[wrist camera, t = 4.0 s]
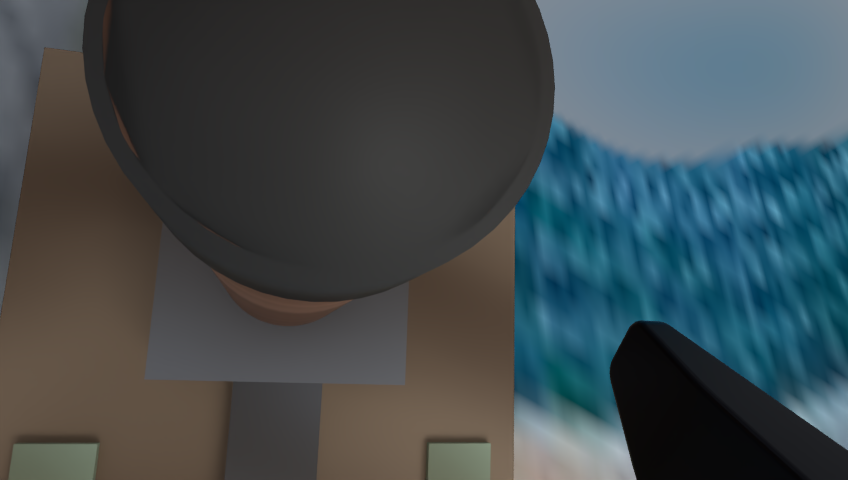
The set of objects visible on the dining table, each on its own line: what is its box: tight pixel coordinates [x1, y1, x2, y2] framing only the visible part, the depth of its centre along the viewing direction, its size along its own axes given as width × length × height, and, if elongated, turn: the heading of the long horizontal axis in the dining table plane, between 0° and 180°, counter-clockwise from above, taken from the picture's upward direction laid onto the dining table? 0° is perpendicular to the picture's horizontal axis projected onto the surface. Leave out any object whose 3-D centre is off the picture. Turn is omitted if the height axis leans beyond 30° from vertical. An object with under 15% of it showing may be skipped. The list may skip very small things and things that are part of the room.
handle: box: [83, 0, 555, 385], centre depth 9 cm, size 5×5×11 cm
